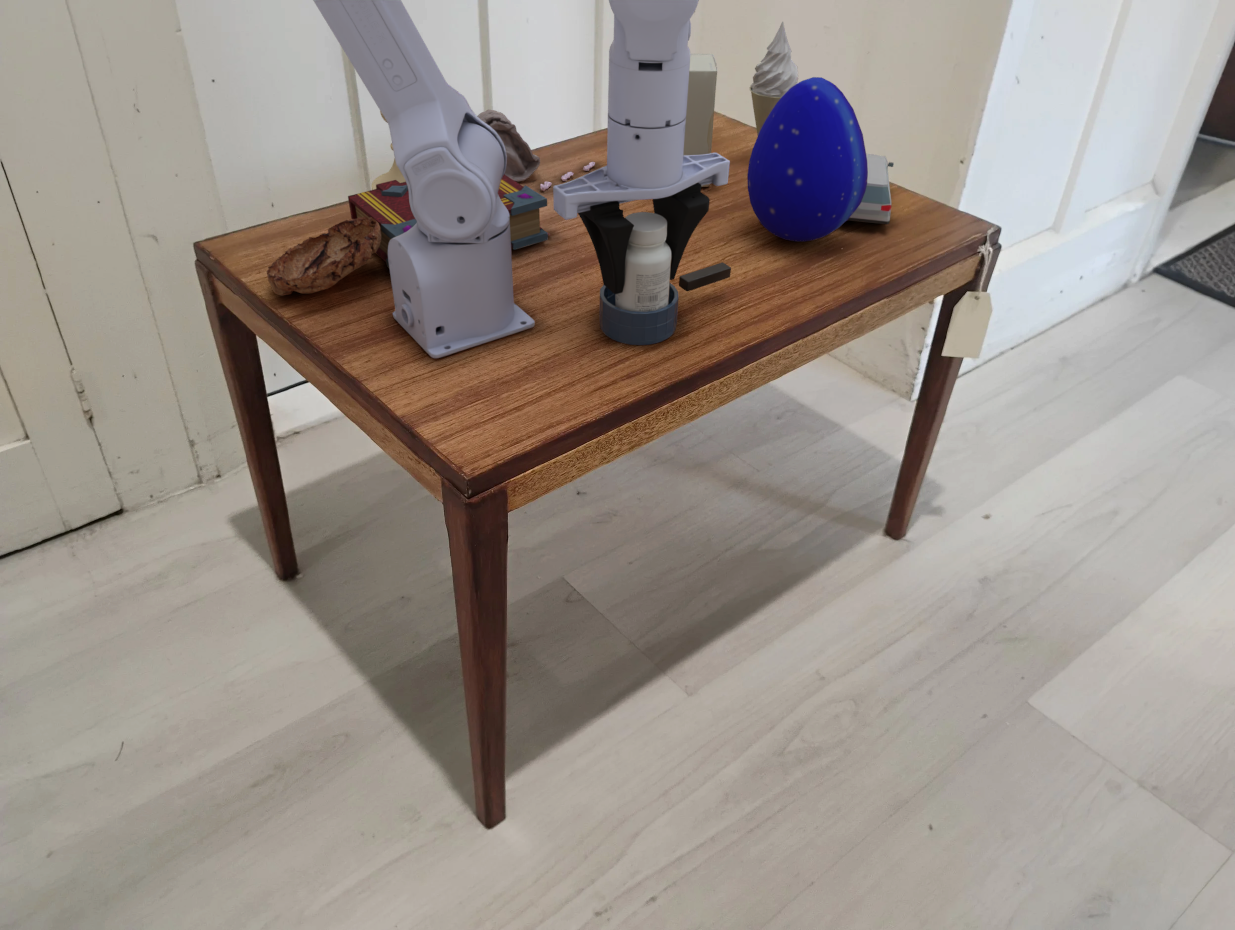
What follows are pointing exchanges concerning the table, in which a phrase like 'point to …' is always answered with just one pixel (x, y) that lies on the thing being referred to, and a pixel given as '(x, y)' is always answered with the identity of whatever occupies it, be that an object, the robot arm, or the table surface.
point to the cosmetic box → (700, 105)
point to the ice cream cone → (773, 77)
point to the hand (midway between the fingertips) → (639, 281)
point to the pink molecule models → (586, 168)
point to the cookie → (325, 257)
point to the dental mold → (512, 146)
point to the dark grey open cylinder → (637, 320)
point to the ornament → (808, 163)
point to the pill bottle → (646, 265)
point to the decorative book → (397, 218)
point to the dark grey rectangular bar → (704, 276)
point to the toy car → (875, 193)
